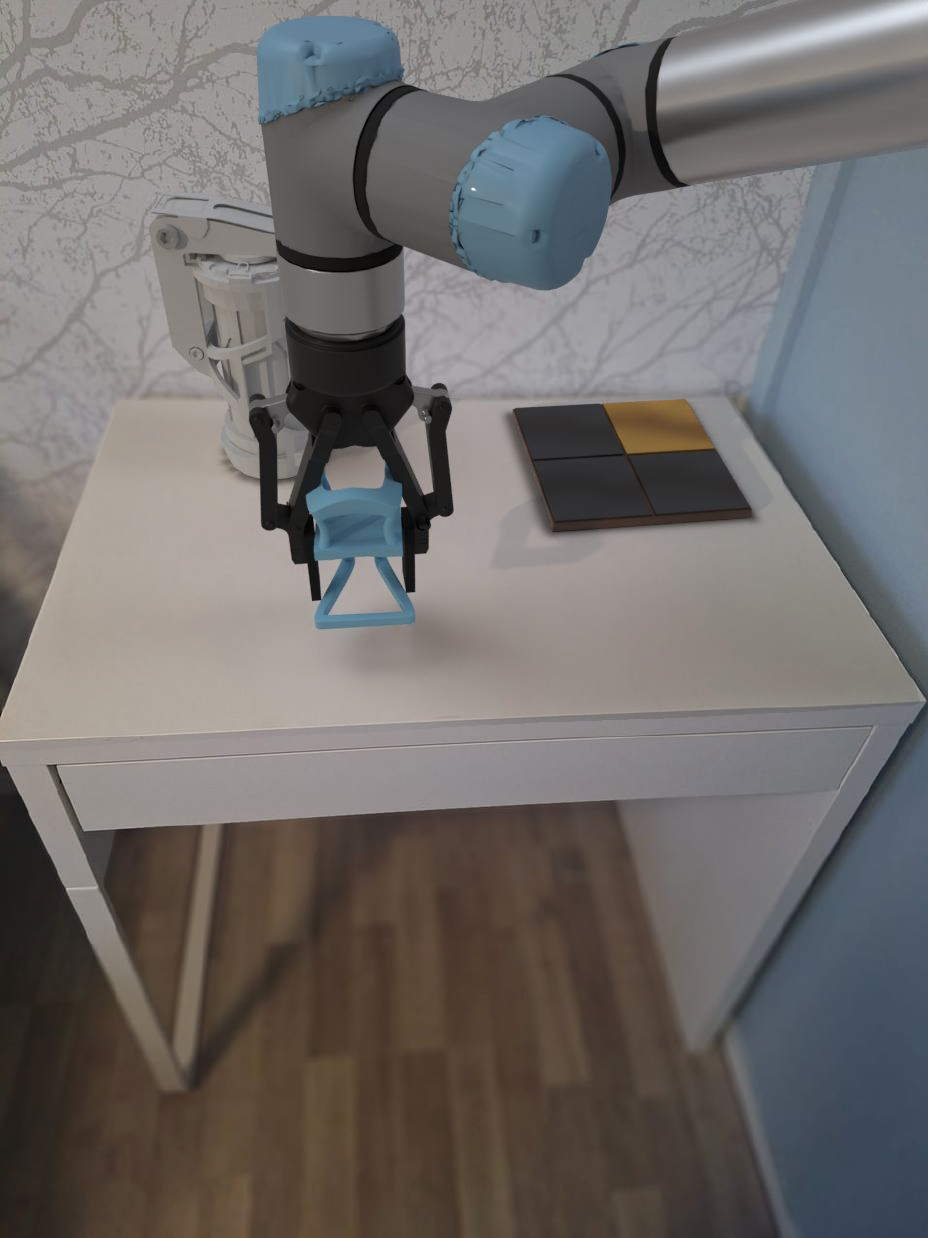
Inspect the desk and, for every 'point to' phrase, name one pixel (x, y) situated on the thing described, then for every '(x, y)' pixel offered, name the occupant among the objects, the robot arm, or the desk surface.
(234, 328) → the grey tall piece
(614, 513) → the board
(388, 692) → the desk surface
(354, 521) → the chair
